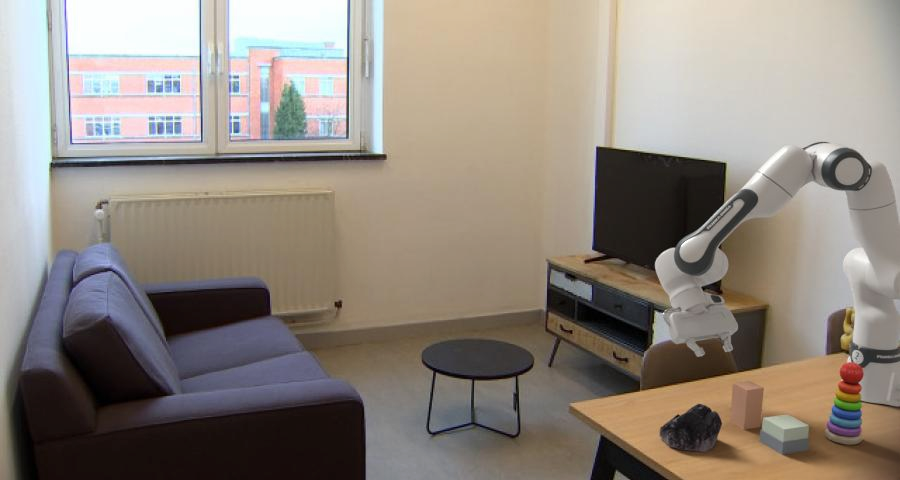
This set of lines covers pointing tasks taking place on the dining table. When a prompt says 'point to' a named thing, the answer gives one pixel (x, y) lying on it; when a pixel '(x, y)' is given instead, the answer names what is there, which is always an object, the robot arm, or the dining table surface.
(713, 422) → the crystal cluster
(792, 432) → the two-tone pastel block
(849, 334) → the decorative figurine
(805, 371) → the dining table surface
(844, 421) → the stacking toy
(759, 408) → the terracotta brick
